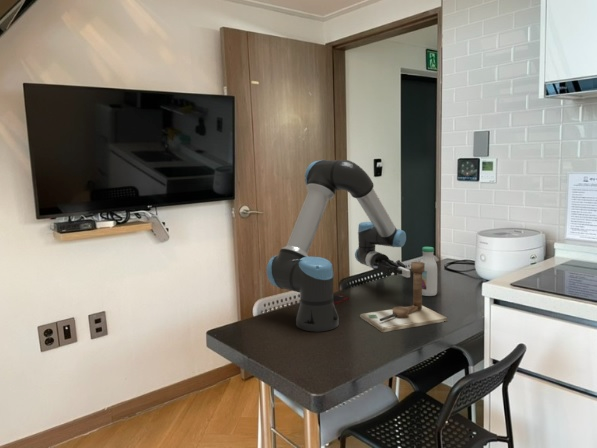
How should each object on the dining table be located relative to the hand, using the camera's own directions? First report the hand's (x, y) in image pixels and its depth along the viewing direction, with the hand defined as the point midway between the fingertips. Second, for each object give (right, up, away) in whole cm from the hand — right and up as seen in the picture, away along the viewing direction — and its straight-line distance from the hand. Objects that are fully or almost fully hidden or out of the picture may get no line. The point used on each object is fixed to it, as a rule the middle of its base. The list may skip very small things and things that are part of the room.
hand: (408, 274), depth 177 cm
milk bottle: (+12, -11, +18) cm, 24 cm away
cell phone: (-29, -13, +12) cm, 34 cm away
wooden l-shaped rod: (-5, -13, -11) cm, 18 cm away
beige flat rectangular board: (-5, -15, -11) cm, 19 cm away
